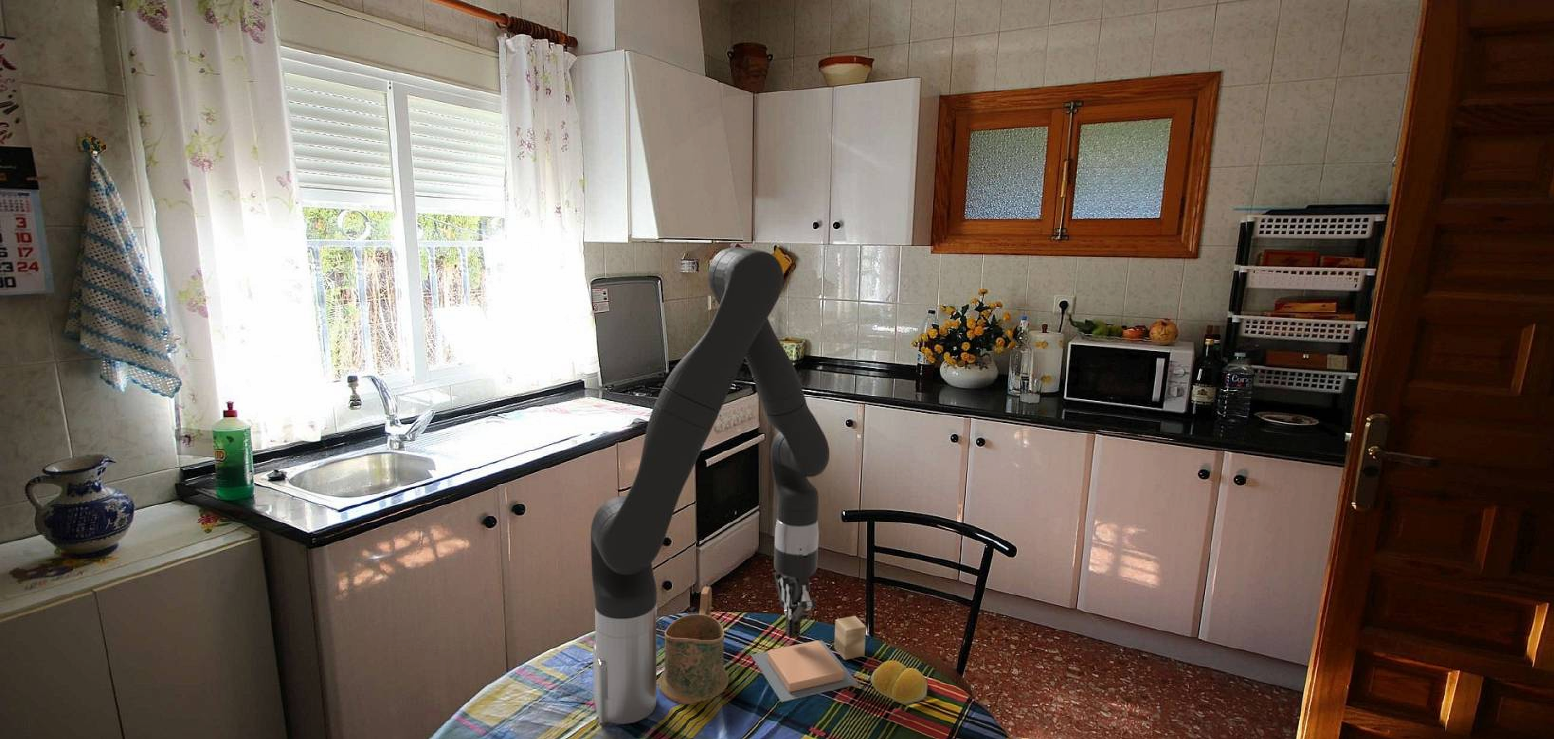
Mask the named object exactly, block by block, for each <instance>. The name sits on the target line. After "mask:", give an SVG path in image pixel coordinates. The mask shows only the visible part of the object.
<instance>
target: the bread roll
mask: <svg viewBox="0 0 1554 739" xmlns="http://www.w3.org/2000/svg"><path fill="white" fill-rule="evenodd" d="M870 682H871V684H872V686H873V688H874V689H875V691H876V692H877V693H879V694H881V695H882V696H884V697H887V698H889V699H892V700H893V701H895V702H896V703H900V704H912V703H917V702H921V701H922V700H924V699H925V698H926V696H927V694H928V692H927V691H928V682H927V678H926V676H924V675H923V673H922V672H921V671H919V669H917V668H914V667H910V668H907V666H905V665H904V664H903V663H901V662H899V661H898V660H886V661H884V662H882V663H881V664H880V665H879V666H878V667H877V668H876V669H875V670H874V671H873V672H872V674H871V677H870Z"/></svg>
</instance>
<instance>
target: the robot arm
mask: <svg viewBox="0 0 1554 739" xmlns="http://www.w3.org/2000/svg"><path fill="white" fill-rule="evenodd" d="M707 272H708V275H707V278H708V279H707V280H708V285H709V288H710V290H711V292H712V295H713V296H714V298H715V300H716V303H717V304H718V305H719V306H718V308H717V310H716V313H715V315H714V317H713V319H712V320H711V323H710V325H709V326H708V328H707V330H706V331H705V333H704V335H703V336H702V337H701V339H700V340H698V342H697V343H696V344H695V345H694V346H693V347H692V348H691V349H690V350H689V351H688V353H686V354H685V355H684V357H682V359H680V361H679V362H678V363H677V364H676V365H675V367H674V368H673V369H672V371H671V372H670V373H669V375H668V377H667V378H666V379H665V382H664V385H663V386H662V389H661V390H660V393H659V395H658V397H657V399H656V400H655V403H654V406H653V408H652V410H651V413H650V416H649V420H648V422H647V426H646V430H645V436H644V441H643V445H642V446H643V447H642V451H641V452H642V453H641V457H640V461H639V462H640V463H639V464H638V466H639V467H638V469H637V471H636V472H637V473H636V475H635V478H634V481H633V483H632V485H631V487H630V489H629V491H628V492H627V495H626V496H617V497H613V498H611V499H608V500H607V501H606V502H604V503H603V504H602V505H601V506H600V507H599V508H598V509H597V511H596V512H595V514H594V516H593V518H592V522H591V526H590V556H591V559H590V560H591V581H592V582H591V583H592V587H593V594H594V595H593V596H594V611H595V612H594V614H595V615H594V617H595V618H594V622H595V625H594V626H595V629H594V630H595V644H594V645H593V648H592V649H593V650H592V652H593V655H592V656H593V657H592V659H593V702H594V705H595V709H596V714H597V717H598V721H599V722H598V723H600V724H603V723H612V724H617V725H618V724H620V725H625V724H633V723H636V722H639V721H641V720H644V719H645V718H647V717H648V716H650V715H651V714H652V713H653V712H654V710H655V708H656V707H657V694H658V693H657V691H658V688H657V665H658V664H657V663H658V661H657V658H658V657H657V654H658V653H657V648H658V647H657V631H658V630H657V625H658V624H657V621H658V620H657V616H658V615H657V612H658V611H657V610H658V609H657V605H658V604H657V601H658V600H657V599H658V597H657V596H658V591H657V583H656V579H655V576H654V569H653V561H655V559H656V557H657V556H658V554H659V553H660V551H661V548H662V547H663V544H664V541H665V539H666V535H667V533H668V530H669V527H670V524H671V521H672V518H673V515H674V514H675V513H674V512H675V509H676V506H677V504H678V502H679V500H680V496H681V494H682V492H683V490H684V487H685V484H686V482H687V481H688V478H690V474H691V473H692V470H693V469H694V466H695V464H696V463H697V460H698V458H699V455H700V454H701V452H702V450H703V447H704V446H705V443H706V441H707V440H708V437H709V436H710V434H711V432H712V429H713V427H714V425H715V424H716V421H717V419H718V417H719V414H720V412H721V410H722V409H723V408H722V407H723V406H724V403H725V401H726V398H727V395H728V393H730V392H729V391H730V390H731V387H732V385H733V383H734V382H735V379H736V377H737V375H738V374H739V372H740V369H741V366H742V364H743V362H744V360H746V363H747V366H748V368H749V371H750V373H751V376H752V379H753V381H754V384H755V385H754V386H755V388H756V391H757V394H758V396H759V399H760V403H761V405H762V409H763V412H764V413H765V417H766V419H767V421H768V422H769V424H770V425H771V426H772V427H773V428H774V429H776V430H777V431H778V432H777V433H776V435H775V436H774V438H773V439H772V443H771V447H770V463H771V470H772V474H773V478H774V483H775V484H774V485H775V488H776V491H777V492H776V493H777V504H776V505H777V507H776V508H777V509H776V511H777V512H776V523H775V528H774V529H775V530H774V548H773V549H774V550H773V551H774V552H773V553H774V554H773V567H774V570H775V571H776V572H775V573H774V580H775V584H776V589H777V594H778V598H779V604H780V607H782V608H783V609H784V610H783V612H784V615H785V634H786V635H787V637H788V638H789V639H795V638H799V636H800V635H801V624H802V622H801V621H802V620H808V619H809V617H810V616H811V615H812V613H813V612H814V610H815V608H816V607H817V602H816V600H815V599H811V598H810V594H809V593H810V590H811V586H810V585H811V584H810V577H811V576H812V575H813V574H815V572H816V571H817V569H818V560H819V559H818V556H819V553H818V551H819V523H818V522H819V500H820V499H819V492H818V490H817V488H816V487H815V486H814V485H813V484H812V483H811V482H810V481H809V480H808V477H809V478H814V477H817V476H819V475H821V474H822V473H823V472H824V471H825V470H826V468H827V467H828V464H829V461H830V447H829V442H828V439H827V437H826V435H825V433H824V431H823V430H822V428H821V426H820V424H819V423H818V421H817V419H816V417H815V416H814V414H813V413H812V412H811V410H810V408H809V407H808V404H807V399H806V396H805V394H804V390H803V387H802V384H801V381H800V378H799V375H798V372H797V370H796V368H795V365H794V364H793V361H792V360H791V359H790V356H789V355H788V353H787V352H786V350H785V348H784V346H783V345H782V343H781V342H780V340H779V338H778V336H777V335H776V333H775V331H774V329H773V327H772V325H771V323H770V321H769V316H770V315H771V312H772V311H773V309H774V308H775V306H776V305H777V302H778V301H779V298H780V297H781V293H782V290H783V287H784V271H783V266H782V265H781V263H780V260H778V258H777V257H776V256H775V255H773V254H772V253H769V252H767V251H765V250H758V249H753V248H746V247H739V246H734V247H733V246H732V247H726V248H725V249H722V250H721V251H719V252H718V253H717V254H715V255H714V257H713V258H712V260H711V262H710V265H709V267H708V271H707Z"/></svg>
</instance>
